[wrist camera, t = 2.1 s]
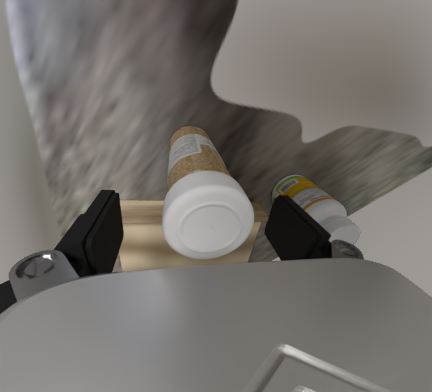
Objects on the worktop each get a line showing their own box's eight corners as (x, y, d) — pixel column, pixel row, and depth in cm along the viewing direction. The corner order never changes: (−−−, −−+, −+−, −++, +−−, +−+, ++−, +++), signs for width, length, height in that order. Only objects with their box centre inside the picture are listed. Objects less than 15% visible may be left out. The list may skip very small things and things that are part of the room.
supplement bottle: (298, 207, 28) (349, 260, 20) (265, 206, 26) (306, 261, 18) (313, 175, 25) (379, 219, 17) (278, 171, 24) (332, 218, 16)
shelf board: (117, 200, 22) (105, 224, 18) (258, 202, 26) (273, 223, 22) (127, 268, 28) (119, 297, 24) (240, 261, 32) (249, 285, 28)
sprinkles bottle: (217, 155, 21) (267, 239, 10) (182, 173, 21) (191, 274, 10) (199, 116, 19) (238, 169, 7) (159, 137, 19) (139, 219, 8)
